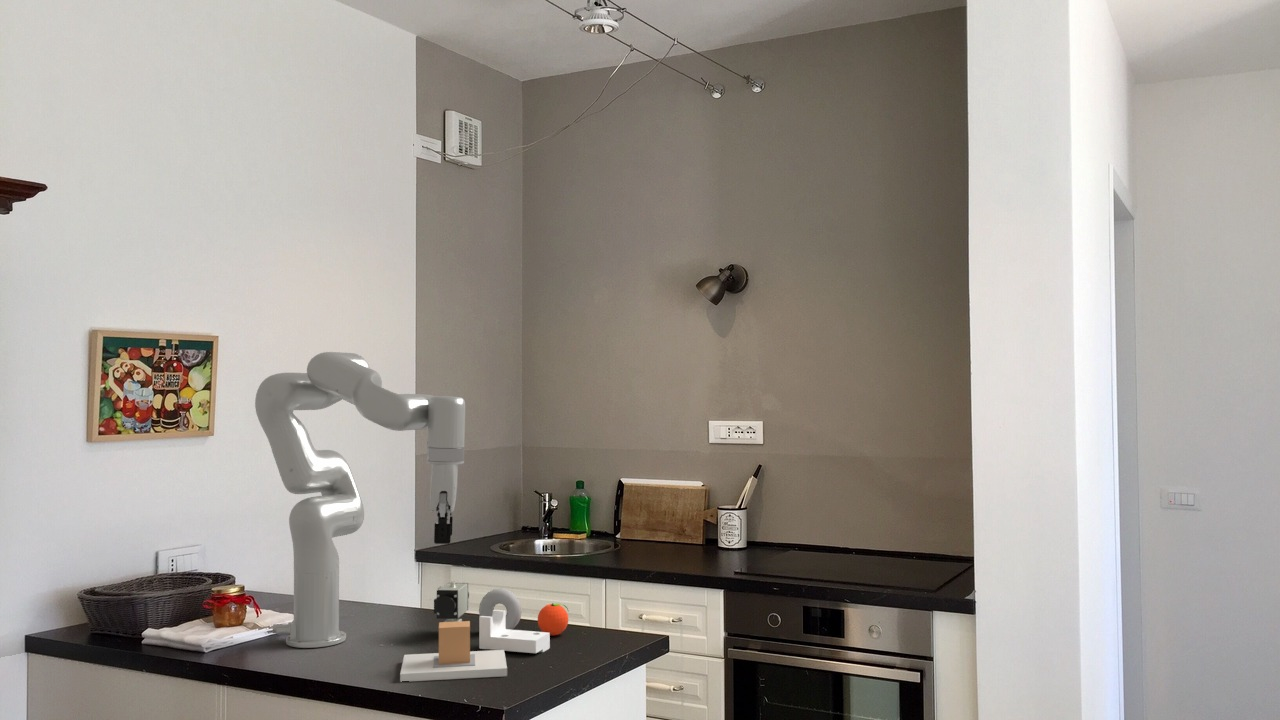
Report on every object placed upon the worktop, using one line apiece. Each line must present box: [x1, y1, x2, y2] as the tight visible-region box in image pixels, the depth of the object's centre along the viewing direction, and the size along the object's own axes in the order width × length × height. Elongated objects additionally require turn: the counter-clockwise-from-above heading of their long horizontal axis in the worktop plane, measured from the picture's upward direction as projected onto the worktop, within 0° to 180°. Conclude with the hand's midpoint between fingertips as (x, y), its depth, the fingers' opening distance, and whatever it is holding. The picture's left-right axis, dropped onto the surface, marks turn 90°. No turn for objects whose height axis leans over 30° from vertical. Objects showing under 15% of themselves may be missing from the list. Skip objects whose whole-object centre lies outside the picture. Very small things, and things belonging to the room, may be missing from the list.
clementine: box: [537, 603, 570, 637], centre depth 224 cm, size 8×7×7 cm
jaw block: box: [438, 620, 471, 664], centre depth 197 cm, size 6×5×7 cm
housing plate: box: [399, 649, 508, 683], centre depth 197 cm, size 20×14×5 cm
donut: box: [478, 588, 522, 630], centre depth 226 cm, size 10×4×10 cm, turn 78°
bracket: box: [478, 609, 551, 654], centre depth 212 cm, size 13×7×8 cm, turn 71°
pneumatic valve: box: [433, 580, 470, 622], centre depth 224 cm, size 6×12×12 cm, turn 174°
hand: (443, 539), depth 205 cm, fingers open, 9 cm apart
